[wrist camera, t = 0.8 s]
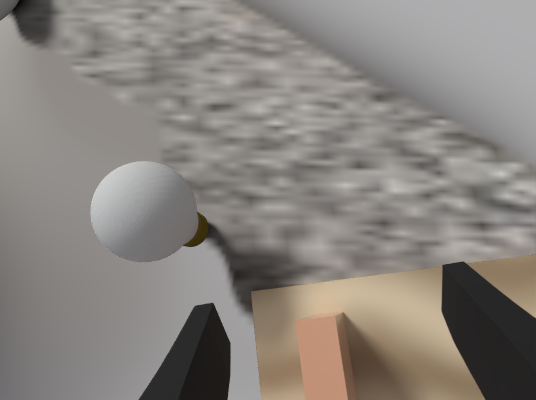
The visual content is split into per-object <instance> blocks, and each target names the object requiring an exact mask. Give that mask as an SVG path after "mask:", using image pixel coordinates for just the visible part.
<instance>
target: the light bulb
mask: <svg viewBox="0 0 536 400" xmlns="http://www.w3.org/2000/svg"><path fill="white" fill-rule="evenodd" d="M91 221H92V225H93V228H94V231H95V233H96V235H97V237H98V238H99V240H100V241H101V242H102V244H103V245H104V246H105V247H106V248H107V249H108V250H110V251H111V252H112V253H114V254H116V255H117V256H119V257H121V258H124V259H127V260H130V261H135V262H152V261H156V260H160V259H163V258H166V257H168V256H170V255H171V254H173V253H175V252H176V251H177V250H179V249H180V248H181V247H182V246H187V247H194V246H197V245H199V244H200V243H202V242H203V241H204V240H205V238H206V236H207V234H208V222H207V220H206V218H205V217H204V216H203V215H202V214H200V213H198V212H197V206H196V200H195V196H194V194H193V192H192V189H191V187H190V186H189V184H188V183H187V182H186V180H185V179H184V178H183V177H182V176H181V175H180V174H179V173H177V172H176V171H174V170H173V169H171V168H169V167H167V166H165V165H163V164H159V163H155V162H146V161H141V162H133V163H129V164H126V165H123V166H121V167H119V168H117V169H115V170H114V171H112V172H111V173H110V174H109V175H107V176H106V177H105V178H104V179H103V180H102V182H101V183H100V184H99V186H98V187H97V189H96V191H95V193H94V196H93V199H92V203H91Z"/></svg>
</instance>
